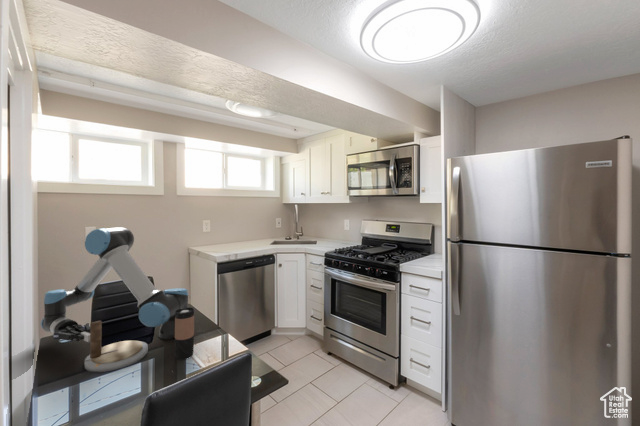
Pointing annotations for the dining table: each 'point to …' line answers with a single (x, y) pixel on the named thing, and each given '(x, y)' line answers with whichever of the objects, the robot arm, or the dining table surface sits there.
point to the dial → (110, 347)
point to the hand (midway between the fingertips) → (90, 338)
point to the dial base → (115, 365)
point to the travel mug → (184, 333)
